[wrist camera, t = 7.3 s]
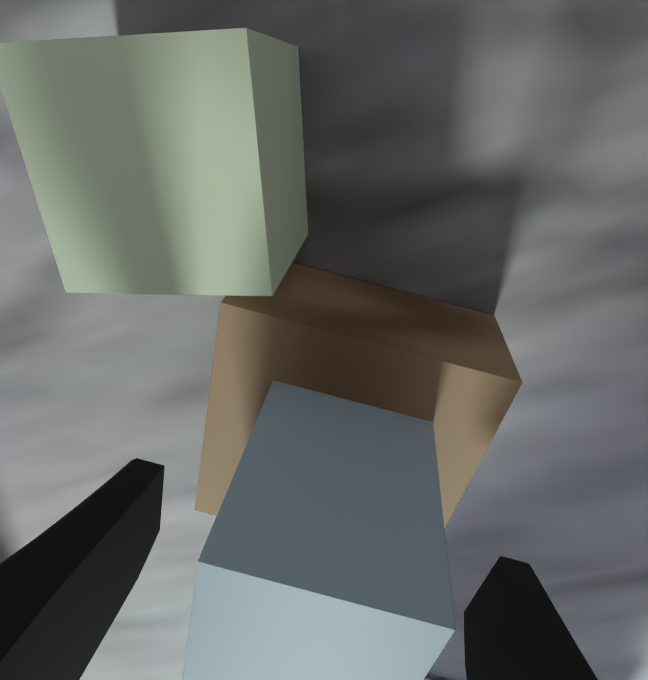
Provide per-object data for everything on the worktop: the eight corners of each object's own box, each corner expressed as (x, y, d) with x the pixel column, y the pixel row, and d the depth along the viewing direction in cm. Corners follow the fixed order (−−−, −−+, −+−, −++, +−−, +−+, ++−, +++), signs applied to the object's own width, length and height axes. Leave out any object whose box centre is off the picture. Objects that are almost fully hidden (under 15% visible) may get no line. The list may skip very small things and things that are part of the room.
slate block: (433, 421, 11) (455, 630, 7) (386, 529, 13) (381, 743, 9) (273, 380, 12) (198, 561, 7) (250, 493, 13) (180, 689, 9)
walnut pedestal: (494, 315, 14) (522, 382, 11) (417, 483, 17) (422, 570, 14) (259, 253, 14) (220, 302, 11) (230, 433, 17) (194, 509, 14)
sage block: (298, 46, 11) (245, 28, 7) (308, 233, 13) (272, 296, 9) (122, 56, 12) (-14, 43, 8) (158, 233, 14) (65, 292, 10)
